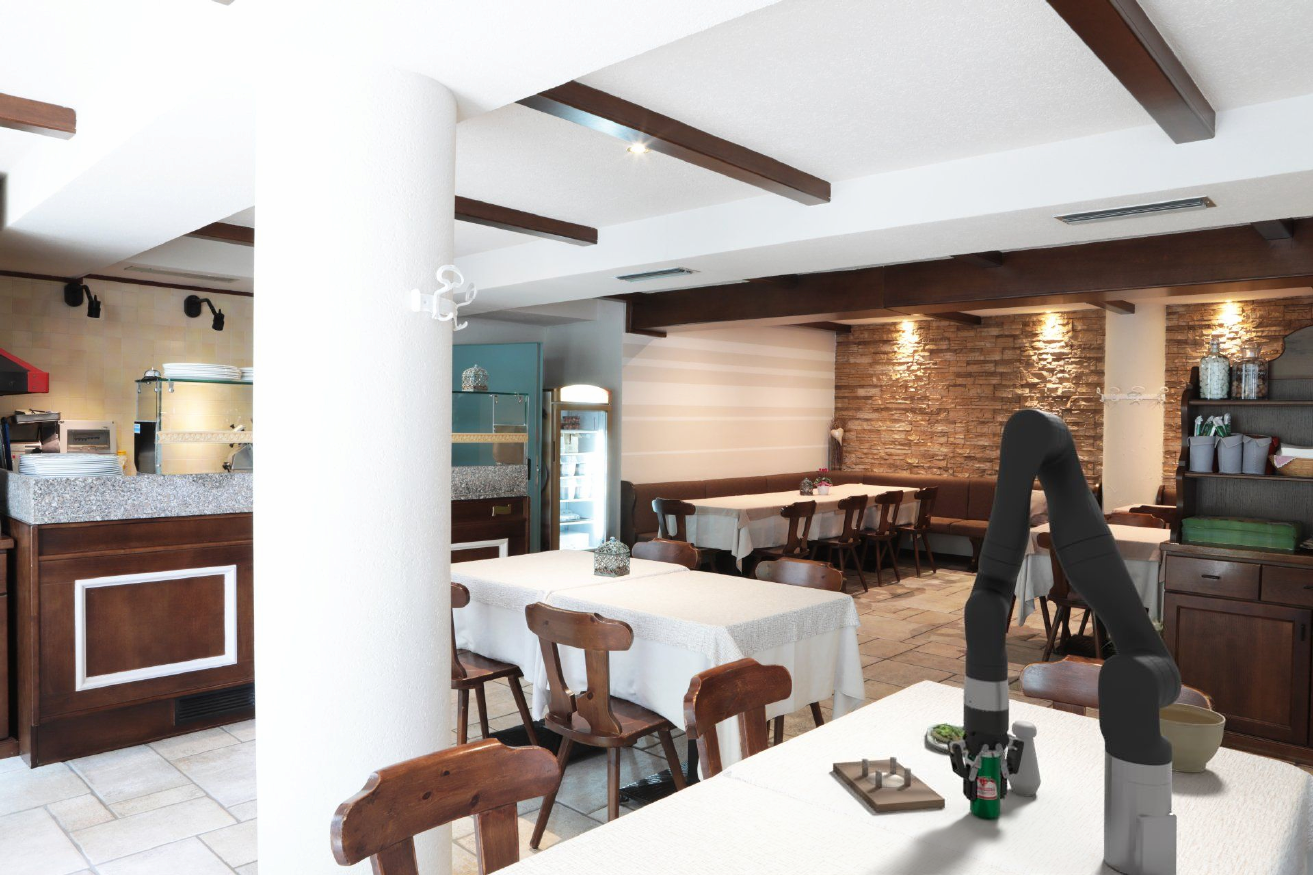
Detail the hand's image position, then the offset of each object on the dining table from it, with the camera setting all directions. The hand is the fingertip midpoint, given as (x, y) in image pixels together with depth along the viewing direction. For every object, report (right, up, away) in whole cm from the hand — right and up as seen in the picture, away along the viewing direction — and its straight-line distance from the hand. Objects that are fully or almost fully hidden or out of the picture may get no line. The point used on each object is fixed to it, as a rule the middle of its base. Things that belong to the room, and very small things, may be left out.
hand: (985, 798), depth 154 cm
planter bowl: (+49, -4, +25) cm, 55 cm away
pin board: (-15, -3, +11) cm, 19 cm away
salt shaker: (+11, -3, +10) cm, 16 cm away
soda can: (0, -3, 0) cm, 3 cm away
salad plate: (+10, -4, +37) cm, 38 cm away
